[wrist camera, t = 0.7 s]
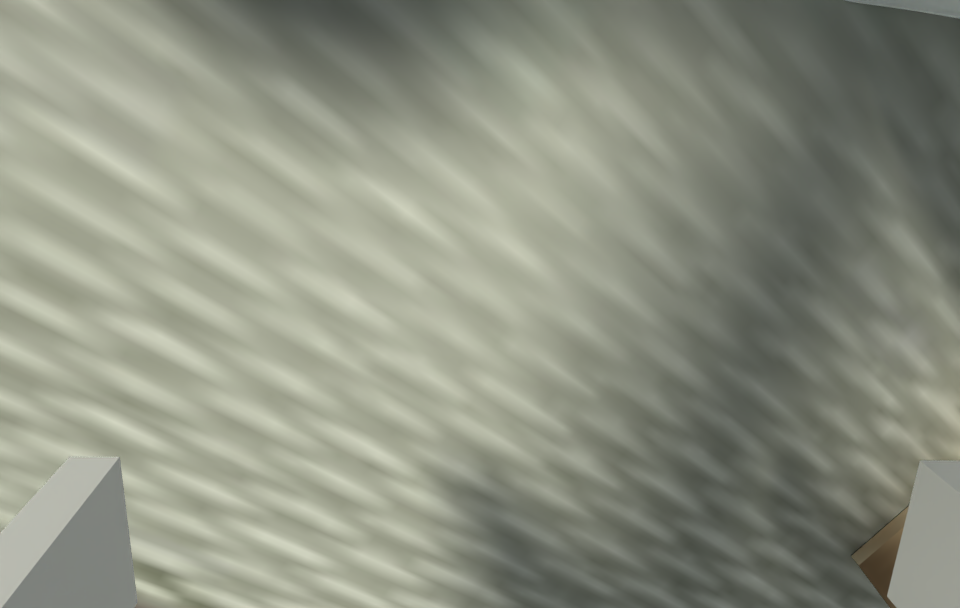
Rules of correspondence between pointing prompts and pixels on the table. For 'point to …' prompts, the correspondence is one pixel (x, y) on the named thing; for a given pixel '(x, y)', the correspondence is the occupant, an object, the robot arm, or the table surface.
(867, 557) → the wooden tray
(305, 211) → the table surface
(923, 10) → the supplement box
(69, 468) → the robot arm
